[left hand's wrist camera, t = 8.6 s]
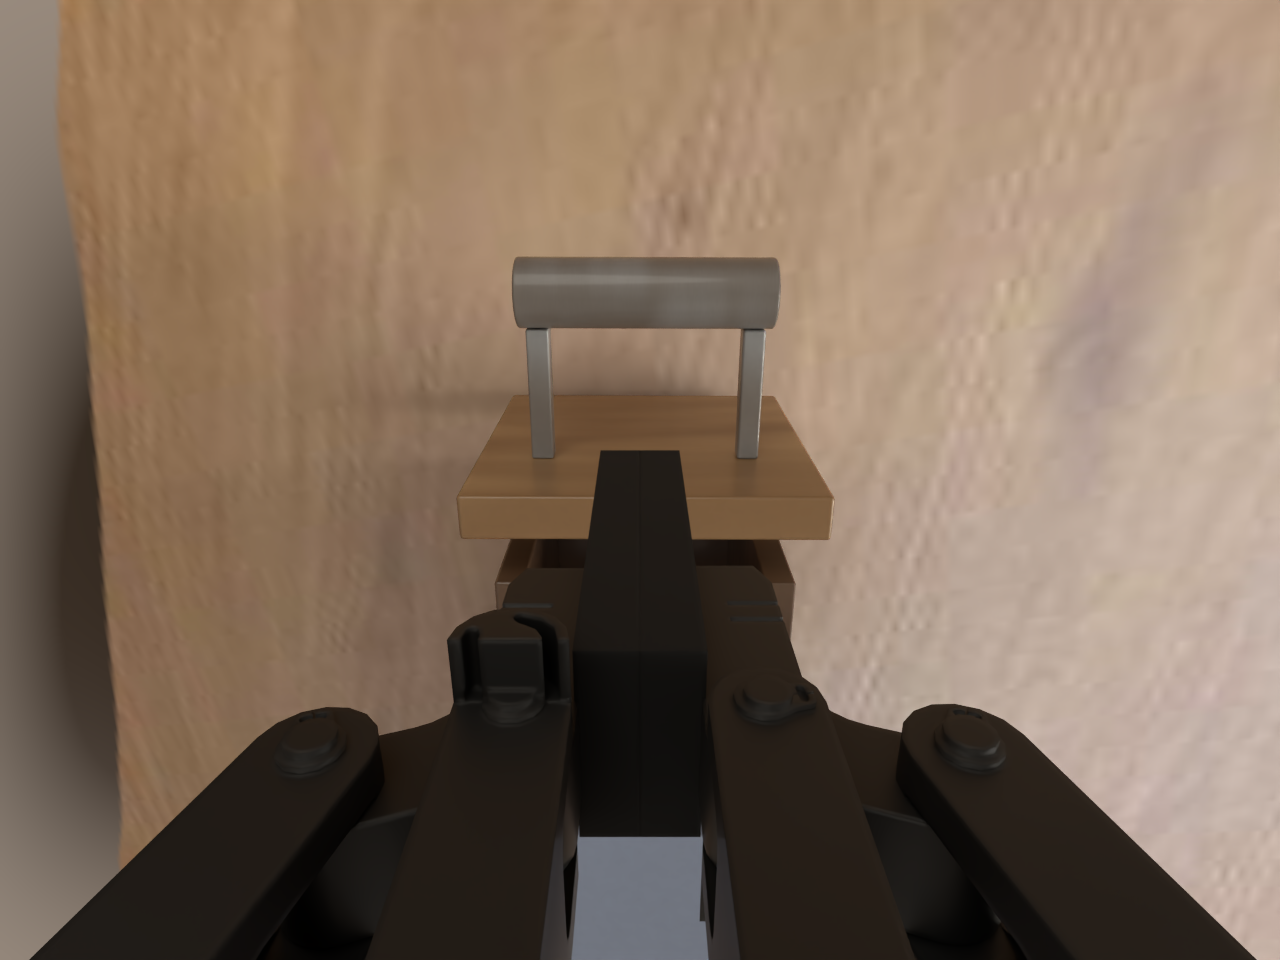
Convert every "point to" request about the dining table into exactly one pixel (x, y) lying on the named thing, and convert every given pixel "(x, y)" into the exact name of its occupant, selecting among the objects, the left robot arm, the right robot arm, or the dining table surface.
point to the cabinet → (639, 899)
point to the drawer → (647, 422)
